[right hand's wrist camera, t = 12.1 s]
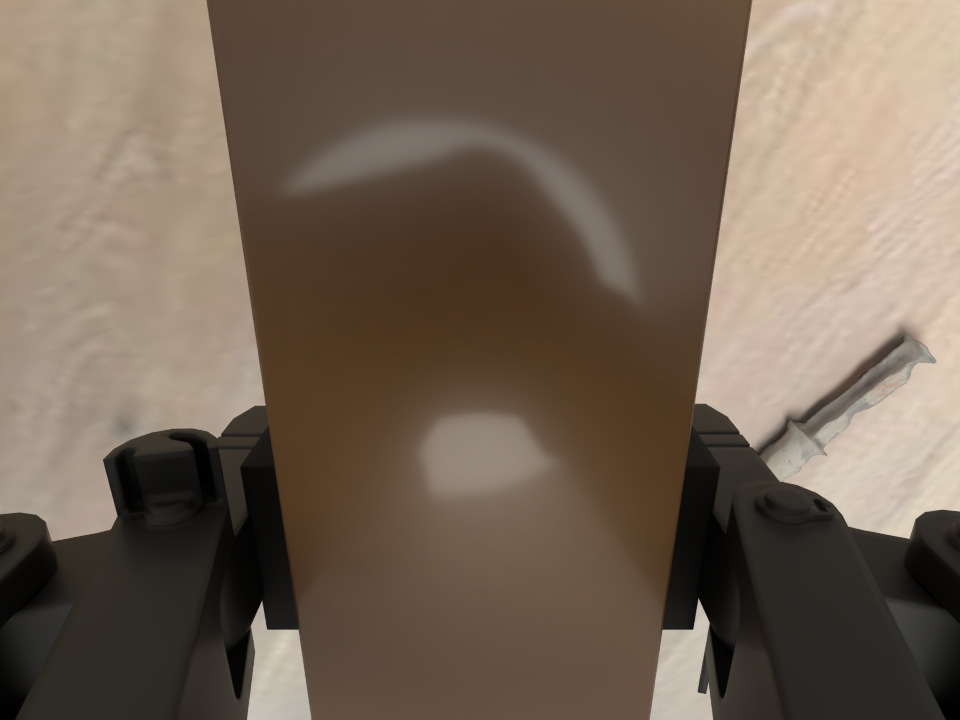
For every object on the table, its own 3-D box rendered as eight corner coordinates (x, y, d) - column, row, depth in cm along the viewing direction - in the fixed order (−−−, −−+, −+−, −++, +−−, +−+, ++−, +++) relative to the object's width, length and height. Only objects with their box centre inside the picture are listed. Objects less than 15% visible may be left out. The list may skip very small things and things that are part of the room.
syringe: (666, 558, 52) (675, 580, 50) (637, 533, 51) (645, 555, 49) (926, 359, 45) (953, 374, 43) (898, 326, 44) (924, 339, 42)
